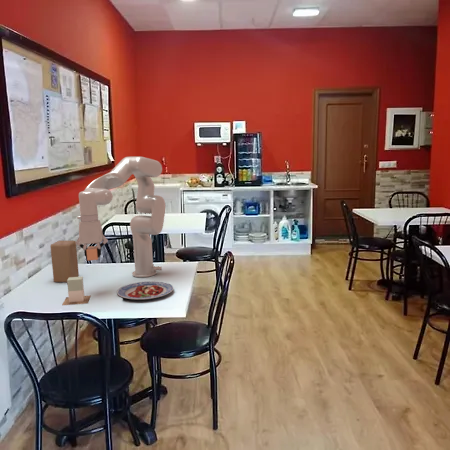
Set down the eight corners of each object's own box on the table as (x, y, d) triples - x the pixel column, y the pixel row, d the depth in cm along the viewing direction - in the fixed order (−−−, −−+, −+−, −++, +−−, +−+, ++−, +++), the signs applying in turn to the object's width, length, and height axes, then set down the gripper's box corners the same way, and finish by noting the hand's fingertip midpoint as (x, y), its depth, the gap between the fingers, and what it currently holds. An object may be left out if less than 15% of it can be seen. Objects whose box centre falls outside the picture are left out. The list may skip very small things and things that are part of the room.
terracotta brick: (89, 257, 222) (88, 246, 221) (99, 256, 223) (98, 246, 222) (87, 260, 216) (86, 249, 215) (97, 259, 217) (96, 249, 216)
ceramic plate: (129, 285, 237) (128, 279, 237) (179, 286, 233) (179, 280, 233) (108, 302, 212) (108, 296, 212) (164, 304, 208) (164, 297, 208)
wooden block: (79, 277, 253) (76, 240, 250) (71, 282, 244) (68, 244, 240) (61, 277, 254) (58, 240, 251) (53, 282, 245) (49, 244, 241)
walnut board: (91, 297, 219) (91, 295, 218) (88, 305, 208) (88, 303, 208) (66, 299, 217) (66, 297, 217) (62, 307, 206) (61, 305, 206)
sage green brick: (83, 287, 214) (82, 276, 213) (82, 290, 210) (81, 279, 209) (69, 288, 213) (68, 277, 212) (68, 291, 209) (67, 280, 208)
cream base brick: (84, 298, 215) (83, 287, 214) (83, 301, 211) (82, 290, 210) (70, 299, 214) (69, 288, 213) (69, 302, 210) (68, 291, 209)
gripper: (68, 220, 211) (72, 260, 215) (107, 218, 213) (111, 258, 217) (71, 218, 218) (75, 256, 222) (109, 215, 221) (112, 254, 224)
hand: (93, 257), depth 219 cm, fingers closed on terracotta brick, 4 cm apart
